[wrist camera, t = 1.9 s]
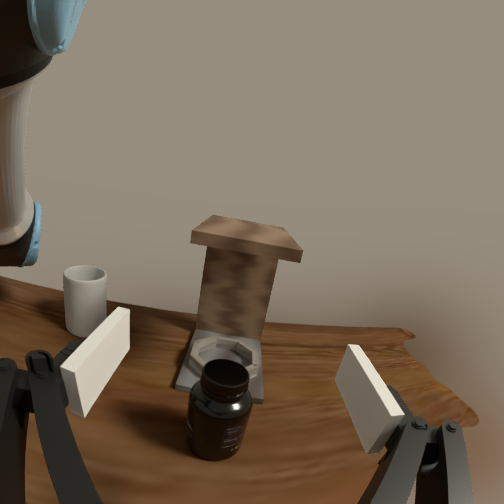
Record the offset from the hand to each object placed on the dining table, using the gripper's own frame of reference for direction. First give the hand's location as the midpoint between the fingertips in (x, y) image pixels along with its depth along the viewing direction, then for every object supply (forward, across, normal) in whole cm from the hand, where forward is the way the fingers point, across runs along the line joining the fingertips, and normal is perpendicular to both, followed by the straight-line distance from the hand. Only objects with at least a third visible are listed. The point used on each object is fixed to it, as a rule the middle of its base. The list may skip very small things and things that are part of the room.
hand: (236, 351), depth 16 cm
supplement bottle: (+9, 0, -20) cm, 23 cm away
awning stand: (+28, 0, -20) cm, 35 cm away
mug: (+31, -27, -20) cm, 46 cm away
